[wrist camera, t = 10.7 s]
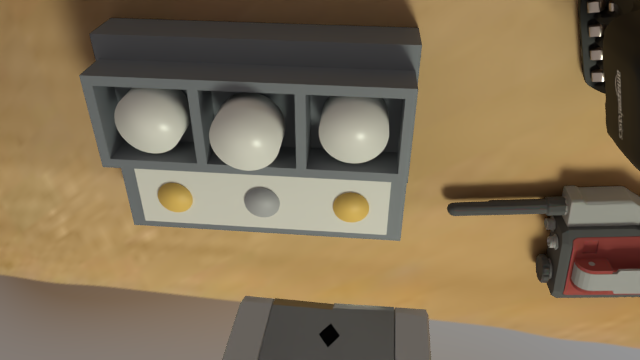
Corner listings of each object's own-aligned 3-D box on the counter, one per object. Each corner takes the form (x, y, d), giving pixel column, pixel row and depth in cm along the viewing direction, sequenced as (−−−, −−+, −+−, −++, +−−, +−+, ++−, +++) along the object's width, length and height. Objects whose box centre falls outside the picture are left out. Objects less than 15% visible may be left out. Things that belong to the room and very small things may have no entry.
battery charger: (560, -17, 30) (643, 58, 21) (634, -37, 29) (755, 31, 20) (570, 94, 34) (643, 201, 24) (636, 79, 33) (739, 184, 24)
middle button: (284, 93, 31) (279, 109, 29) (286, 154, 33) (281, 172, 31) (214, 90, 31) (205, 106, 29) (221, 151, 33) (213, 168, 31)
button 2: (391, 87, 31) (391, 102, 30) (386, 147, 33) (386, 165, 32) (322, 84, 32) (318, 100, 30) (321, 144, 34) (318, 161, 32)
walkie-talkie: (750, 175, 36) (445, 185, 39) (792, 215, 33) (452, 223, 35) (712, 272, 41) (442, 275, 44) (745, 317, 38) (448, 317, 40)
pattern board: (418, 27, 32) (424, 62, 28) (398, 214, 40) (401, 265, 36) (110, 17, 34) (68, 49, 29) (149, 200, 42) (120, 247, 37)
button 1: (187, 79, 32) (176, 93, 30) (195, 138, 34) (186, 155, 33) (121, 76, 32) (107, 91, 31) (133, 135, 35) (121, 151, 33)
